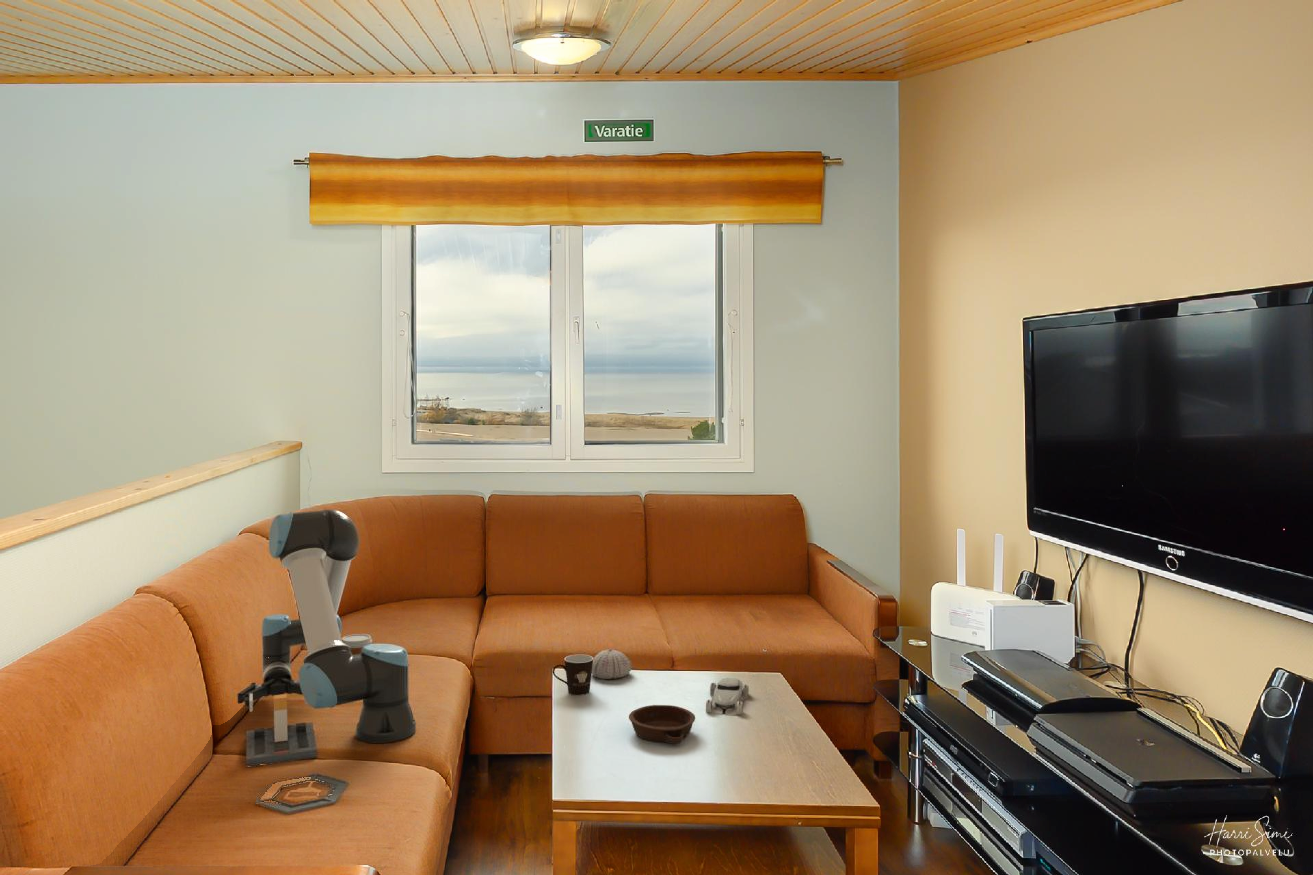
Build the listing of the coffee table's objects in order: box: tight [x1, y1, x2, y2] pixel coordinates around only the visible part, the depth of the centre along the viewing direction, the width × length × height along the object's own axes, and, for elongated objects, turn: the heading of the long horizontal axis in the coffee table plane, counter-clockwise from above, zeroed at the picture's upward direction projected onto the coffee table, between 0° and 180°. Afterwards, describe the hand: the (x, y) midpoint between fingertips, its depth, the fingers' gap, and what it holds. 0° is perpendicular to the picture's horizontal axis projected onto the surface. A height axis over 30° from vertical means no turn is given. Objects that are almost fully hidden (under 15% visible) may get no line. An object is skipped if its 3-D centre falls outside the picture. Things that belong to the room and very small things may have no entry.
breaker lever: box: [273, 693, 288, 742], centre depth 240 cm, size 3×3×11 cm
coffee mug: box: [552, 654, 594, 696], centre depth 284 cm, size 12×9×10 cm
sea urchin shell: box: [591, 649, 633, 680], centre depth 300 cm, size 13×14×8 cm
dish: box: [628, 704, 696, 745], centre depth 251 cm, size 18×22×5 cm
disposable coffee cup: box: [341, 633, 373, 655], centre depth 299 cm, size 10×10×12 cm
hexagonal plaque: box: [255, 772, 350, 815], centre depth 213 cm, size 17×20×1 cm
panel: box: [245, 722, 318, 767], centre depth 240 cm, size 20×16×3 cm
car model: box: [705, 677, 750, 717], centre depth 277 cm, size 11×24×5 cm, turn 170°
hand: (279, 702), depth 248 cm, fingers open, 13 cm apart
